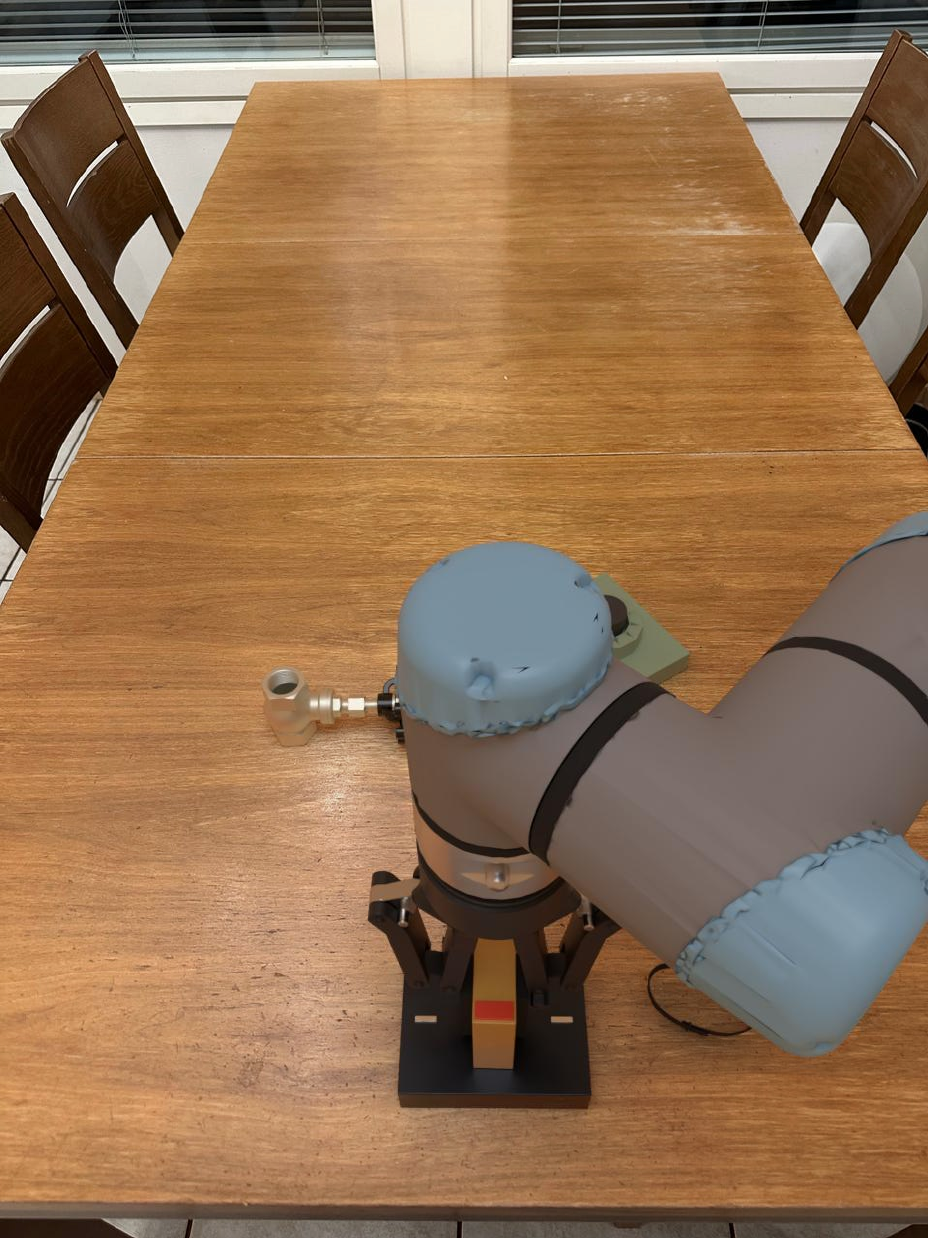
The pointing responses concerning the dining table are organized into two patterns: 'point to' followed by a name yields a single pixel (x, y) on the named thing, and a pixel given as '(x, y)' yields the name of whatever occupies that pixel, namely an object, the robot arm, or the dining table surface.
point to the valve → (317, 706)
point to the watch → (684, 1024)
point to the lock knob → (494, 1004)
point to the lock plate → (447, 1079)
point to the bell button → (617, 614)
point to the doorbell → (644, 639)
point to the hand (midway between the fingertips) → (493, 1014)
